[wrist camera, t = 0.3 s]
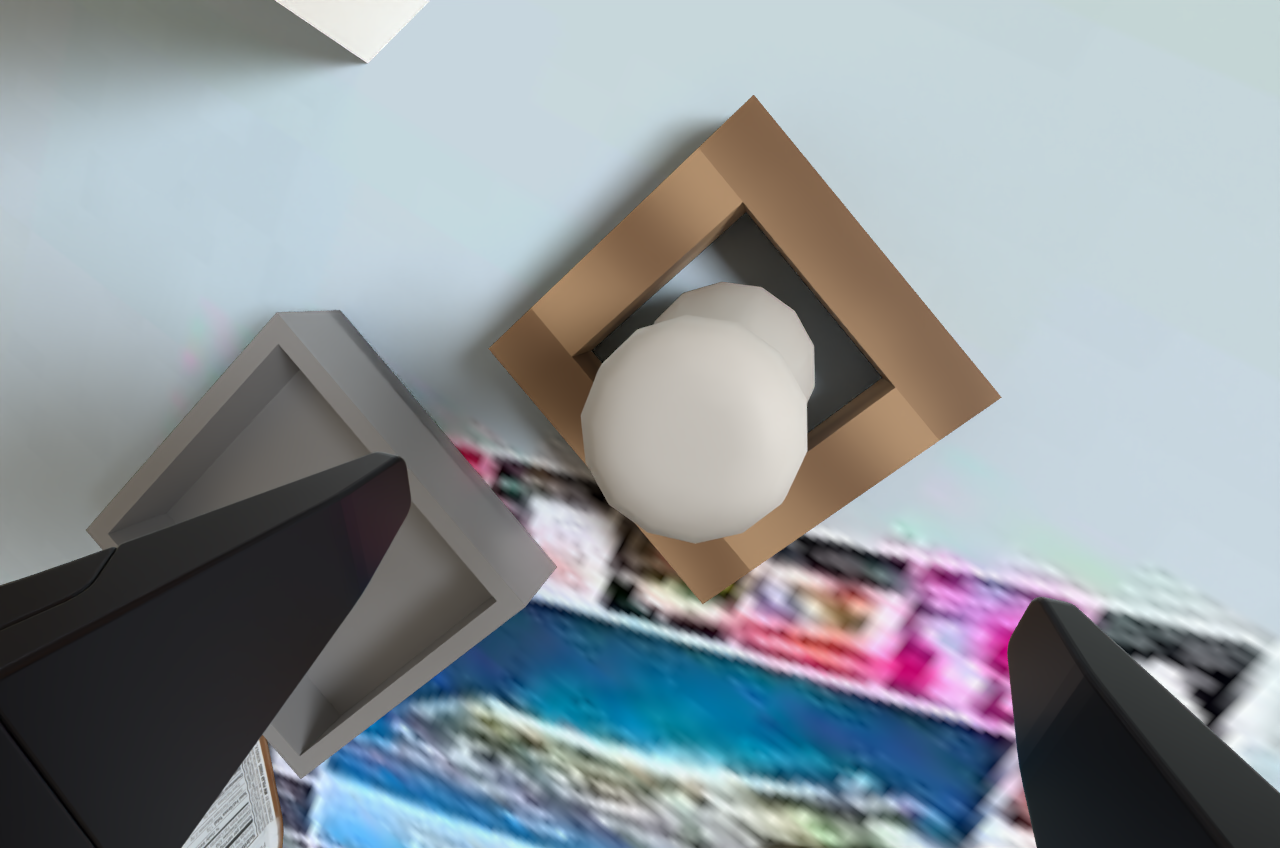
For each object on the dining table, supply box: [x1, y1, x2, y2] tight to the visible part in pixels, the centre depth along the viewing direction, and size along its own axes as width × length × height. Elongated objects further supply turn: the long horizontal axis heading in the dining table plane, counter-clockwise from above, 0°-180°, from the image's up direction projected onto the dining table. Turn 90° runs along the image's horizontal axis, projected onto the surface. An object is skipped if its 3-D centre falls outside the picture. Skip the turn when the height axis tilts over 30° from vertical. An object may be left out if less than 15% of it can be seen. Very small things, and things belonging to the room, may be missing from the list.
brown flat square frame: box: [489, 95, 1002, 604], centre depth 22 cm, size 12×12×2 cm
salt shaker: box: [581, 282, 815, 544], centre depth 17 cm, size 6×6×13 cm
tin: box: [182, 735, 283, 848], centre depth 28 cm, size 15×3×8 cm, turn 5°
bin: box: [86, 310, 557, 779], centre depth 27 cm, size 14×14×4 cm
